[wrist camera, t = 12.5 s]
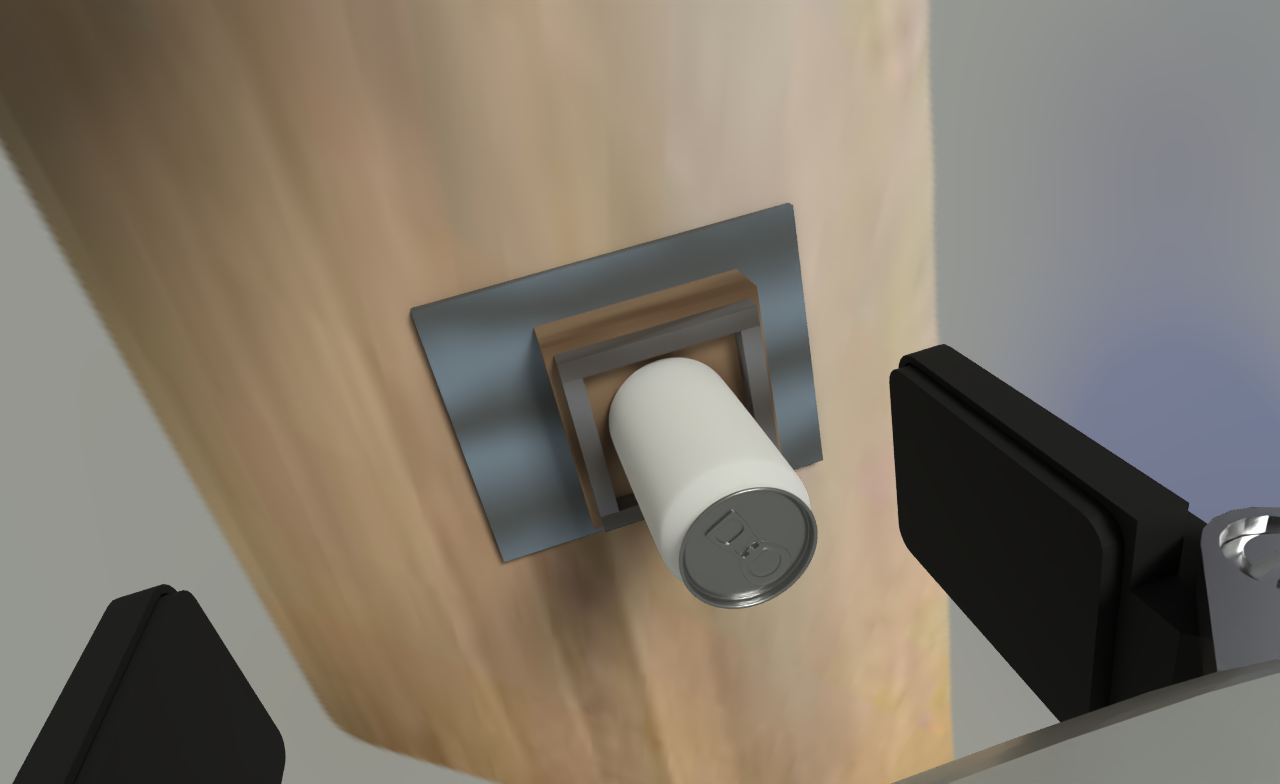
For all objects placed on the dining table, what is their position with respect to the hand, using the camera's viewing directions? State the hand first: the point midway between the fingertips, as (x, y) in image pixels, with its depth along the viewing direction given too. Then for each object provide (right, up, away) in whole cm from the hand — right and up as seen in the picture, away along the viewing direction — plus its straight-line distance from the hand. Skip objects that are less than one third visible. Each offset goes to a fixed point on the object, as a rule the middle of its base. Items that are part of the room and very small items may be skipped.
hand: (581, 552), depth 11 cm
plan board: (+2, +2, +34) cm, 34 cm away
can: (+2, +1, +31) cm, 31 cm away
